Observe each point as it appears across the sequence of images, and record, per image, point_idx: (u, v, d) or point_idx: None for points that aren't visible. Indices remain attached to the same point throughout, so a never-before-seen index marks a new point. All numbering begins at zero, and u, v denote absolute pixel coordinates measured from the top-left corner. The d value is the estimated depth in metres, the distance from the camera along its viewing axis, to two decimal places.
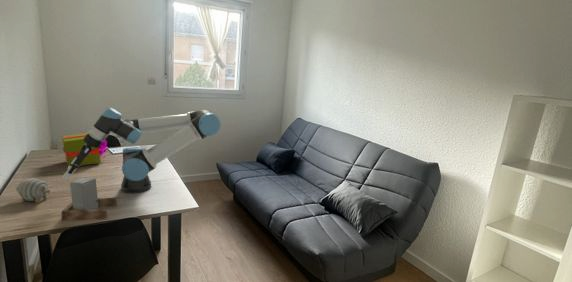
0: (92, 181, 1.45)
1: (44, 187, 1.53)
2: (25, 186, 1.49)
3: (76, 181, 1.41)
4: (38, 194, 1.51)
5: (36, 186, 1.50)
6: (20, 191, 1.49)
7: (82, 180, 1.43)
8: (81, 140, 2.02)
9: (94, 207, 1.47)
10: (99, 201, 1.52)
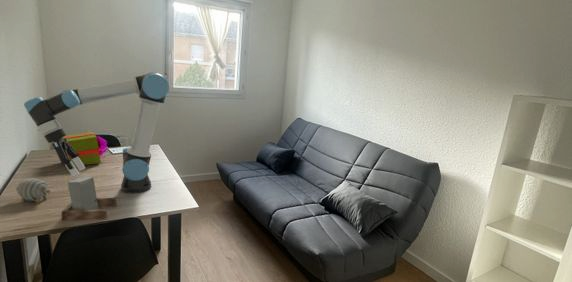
0: (90, 180, 1.45)
1: (44, 187, 1.53)
2: (25, 186, 1.49)
3: (74, 181, 1.42)
4: (38, 194, 1.51)
5: (36, 186, 1.50)
6: (20, 191, 1.49)
7: (80, 179, 1.43)
8: (81, 140, 2.02)
9: (93, 206, 1.47)
10: (99, 201, 1.52)
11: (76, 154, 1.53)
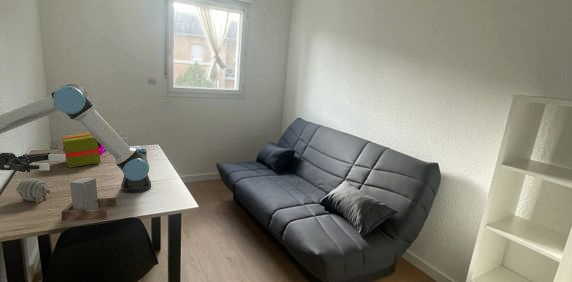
0: (92, 181, 1.45)
1: (44, 187, 1.53)
2: (25, 186, 1.49)
3: (76, 181, 1.41)
4: (38, 194, 1.51)
5: (36, 186, 1.50)
6: (20, 191, 1.49)
7: (82, 180, 1.43)
8: (81, 140, 2.02)
9: (94, 207, 1.47)
10: (99, 201, 1.52)
11: (46, 154, 1.45)
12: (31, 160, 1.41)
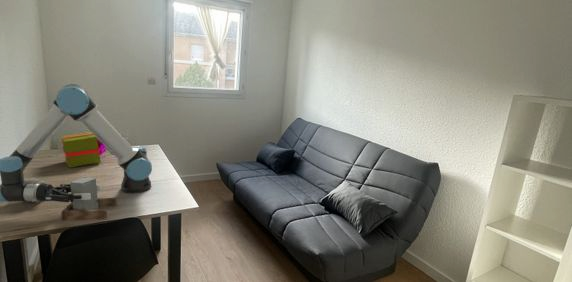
0: (92, 181, 1.45)
1: None
2: None
3: (76, 181, 1.41)
4: None
5: None
6: None
7: (82, 180, 1.43)
8: (81, 140, 2.03)
9: (94, 207, 1.47)
10: (99, 201, 1.52)
11: None
12: (67, 190, 1.46)
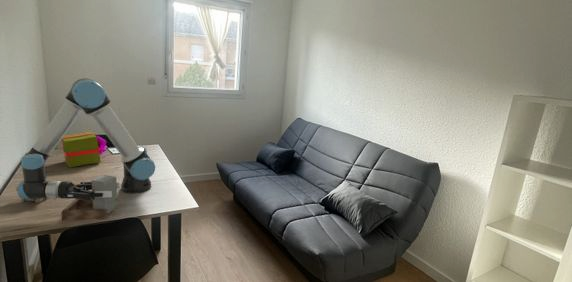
0: (113, 180, 1.45)
1: None
2: None
3: (97, 179, 1.42)
4: None
5: None
6: None
7: (103, 178, 1.43)
8: (81, 140, 2.03)
9: (113, 205, 1.47)
10: None
11: None
12: (87, 188, 1.46)
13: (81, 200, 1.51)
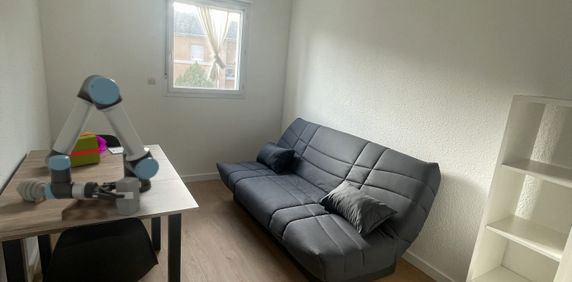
0: (135, 181, 1.48)
1: (44, 187, 1.53)
2: (25, 186, 1.49)
3: (121, 180, 1.45)
4: (38, 194, 1.51)
5: (36, 186, 1.50)
6: (20, 191, 1.49)
7: (126, 180, 1.47)
8: (81, 140, 2.03)
9: (136, 206, 1.50)
10: (99, 201, 1.52)
11: None
12: (112, 188, 1.49)
13: (81, 200, 1.51)
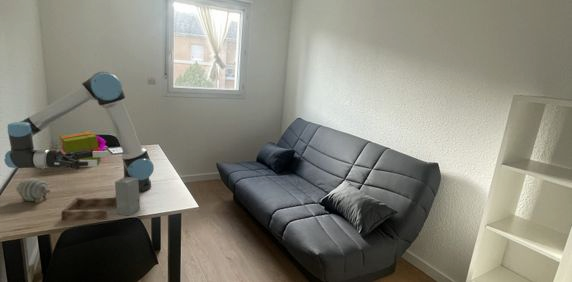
0: (135, 181, 1.48)
1: (44, 187, 1.53)
2: (25, 186, 1.49)
3: (120, 180, 1.45)
4: (38, 194, 1.51)
5: (36, 186, 1.50)
6: (20, 191, 1.49)
7: (126, 180, 1.47)
8: (81, 139, 2.04)
9: (136, 206, 1.50)
10: (99, 201, 1.52)
11: (90, 151, 1.48)
12: (77, 157, 1.44)
13: (81, 200, 1.51)
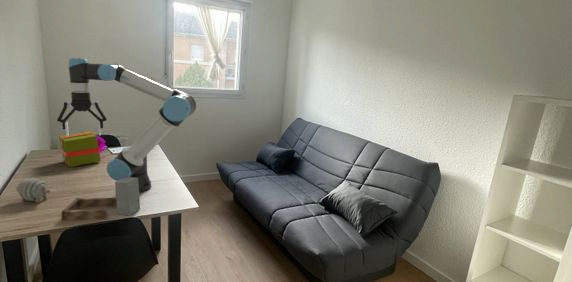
0: (135, 181, 1.48)
1: (44, 187, 1.53)
2: (25, 186, 1.49)
3: (120, 180, 1.45)
4: (38, 194, 1.51)
5: (36, 186, 1.50)
6: (20, 191, 1.49)
7: (126, 180, 1.47)
8: (81, 139, 2.04)
9: (136, 206, 1.50)
10: (99, 201, 1.52)
11: (100, 120, 1.57)
12: None
13: (81, 200, 1.51)
